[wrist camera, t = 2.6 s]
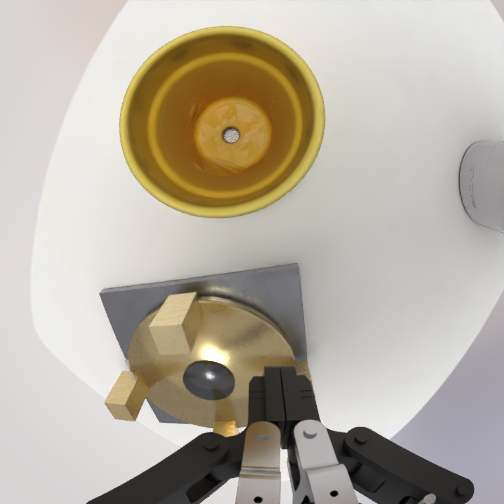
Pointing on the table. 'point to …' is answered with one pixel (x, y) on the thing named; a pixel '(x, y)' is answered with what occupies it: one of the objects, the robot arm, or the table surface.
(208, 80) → the plant pot
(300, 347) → the flange plate
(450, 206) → the table surface
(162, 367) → the pegged brass disc
